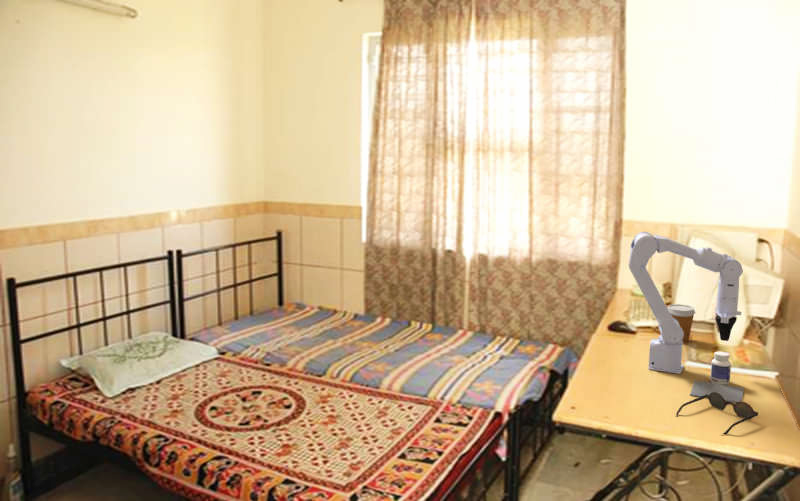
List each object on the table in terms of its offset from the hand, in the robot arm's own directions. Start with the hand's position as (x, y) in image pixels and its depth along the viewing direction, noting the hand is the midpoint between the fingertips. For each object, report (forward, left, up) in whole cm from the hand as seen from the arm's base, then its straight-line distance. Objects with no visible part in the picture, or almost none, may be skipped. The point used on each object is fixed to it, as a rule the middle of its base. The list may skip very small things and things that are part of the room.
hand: (724, 340), depth 203 cm
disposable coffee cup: (-16, +28, -11) cm, 34 cm away
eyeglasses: (+1, -38, -11) cm, 39 cm away
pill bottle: (0, -9, -11) cm, 14 cm away
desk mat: (0, -18, -10) cm, 21 cm away
